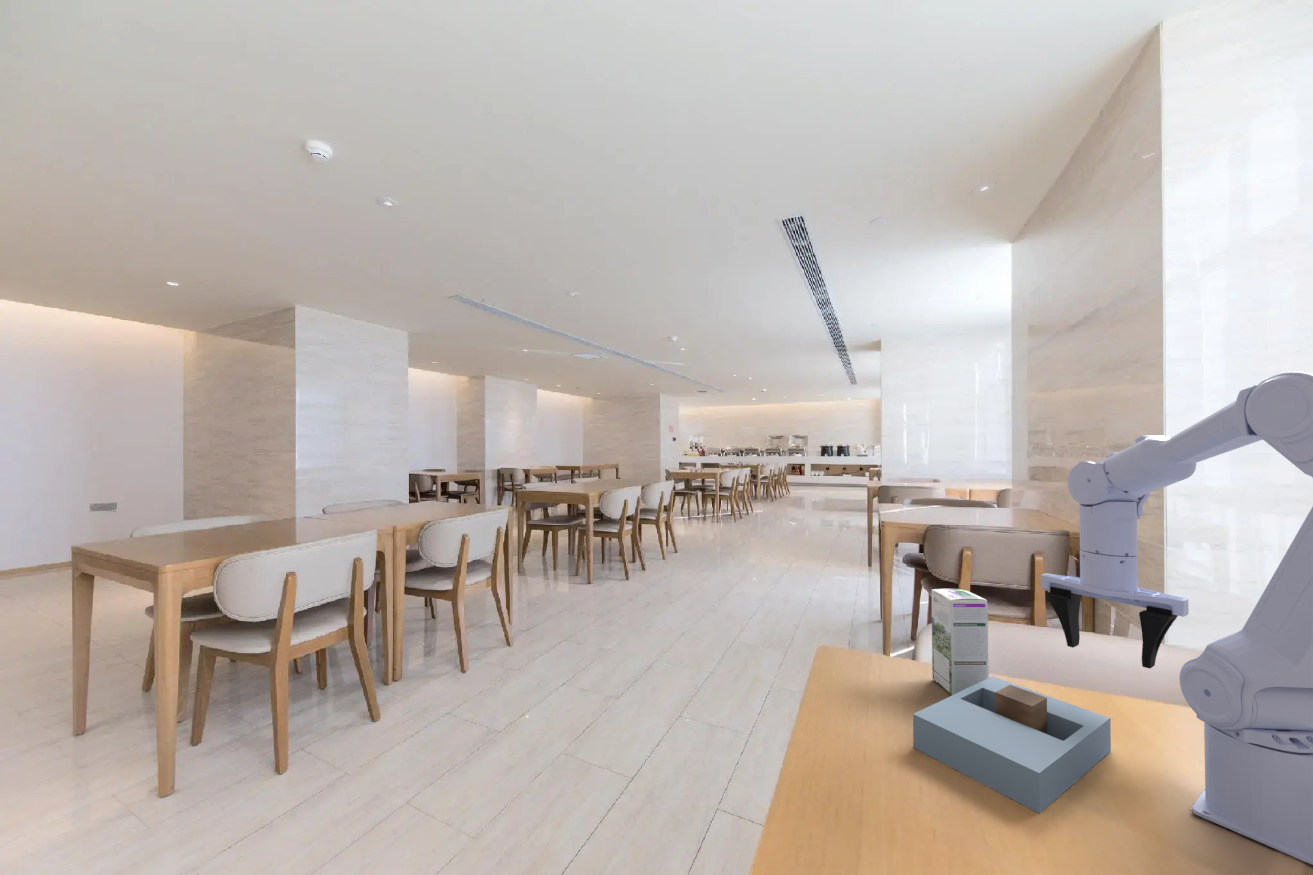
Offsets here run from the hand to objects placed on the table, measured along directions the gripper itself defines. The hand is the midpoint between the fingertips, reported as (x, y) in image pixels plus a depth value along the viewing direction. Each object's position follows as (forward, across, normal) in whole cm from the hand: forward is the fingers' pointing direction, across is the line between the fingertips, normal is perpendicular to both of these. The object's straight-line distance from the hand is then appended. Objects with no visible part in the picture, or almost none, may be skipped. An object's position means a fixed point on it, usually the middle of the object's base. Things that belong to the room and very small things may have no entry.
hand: (1108, 655), depth 66 cm
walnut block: (+10, +4, +15) cm, 18 cm away
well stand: (+9, +4, +17) cm, 20 cm away
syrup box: (+10, +16, +6) cm, 20 cm away
